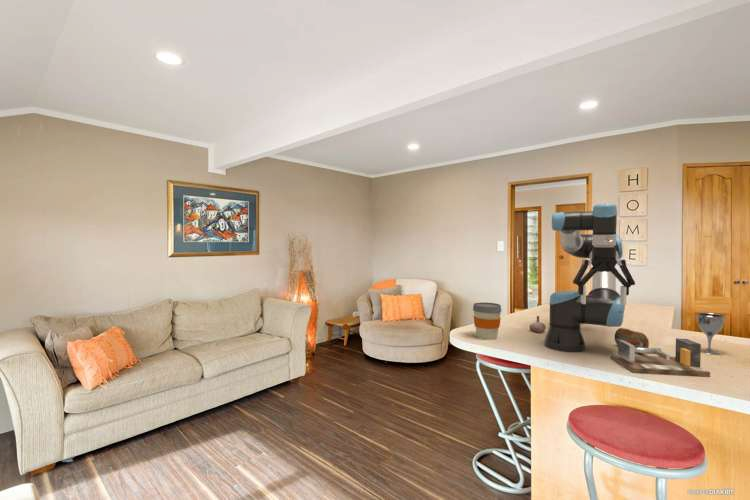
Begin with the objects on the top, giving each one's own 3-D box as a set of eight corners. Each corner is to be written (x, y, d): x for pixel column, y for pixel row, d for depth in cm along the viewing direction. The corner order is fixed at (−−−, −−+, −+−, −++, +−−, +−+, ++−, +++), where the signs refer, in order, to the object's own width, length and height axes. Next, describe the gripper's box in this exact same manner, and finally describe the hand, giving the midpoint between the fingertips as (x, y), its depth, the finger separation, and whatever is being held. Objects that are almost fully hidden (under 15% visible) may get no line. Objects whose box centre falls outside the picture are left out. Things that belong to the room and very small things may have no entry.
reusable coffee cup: (471, 333, 177) (471, 302, 177) (498, 334, 176) (498, 302, 175) (474, 340, 165) (474, 306, 165) (503, 341, 163) (504, 307, 163)
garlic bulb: (544, 334, 176) (544, 317, 176) (527, 332, 180) (528, 315, 180) (546, 331, 182) (546, 315, 182) (530, 329, 186) (531, 313, 186)
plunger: (634, 364, 125) (634, 348, 125) (618, 354, 136) (618, 339, 136) (672, 366, 123) (672, 350, 123) (652, 356, 134) (653, 341, 134)
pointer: (686, 365, 122) (686, 350, 122) (680, 362, 125) (680, 348, 125) (690, 365, 122) (690, 350, 122) (684, 362, 125) (684, 348, 125)
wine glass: (690, 349, 151) (691, 312, 151) (708, 348, 152) (709, 312, 152) (710, 355, 144) (711, 316, 143) (728, 354, 144) (729, 316, 144)
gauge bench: (632, 372, 124) (633, 344, 124) (610, 357, 140) (610, 333, 140) (709, 376, 120) (710, 348, 120) (678, 361, 136) (678, 335, 136)
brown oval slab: (613, 345, 157) (614, 325, 157) (620, 345, 157) (620, 325, 157) (642, 356, 142) (643, 334, 142) (650, 356, 142) (650, 334, 142)
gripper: (571, 247, 134) (570, 305, 135) (647, 246, 130) (645, 306, 131) (564, 246, 141) (563, 301, 142) (635, 245, 137) (634, 302, 138)
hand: (602, 303), depth 136 cm, fingers open, 13 cm apart
